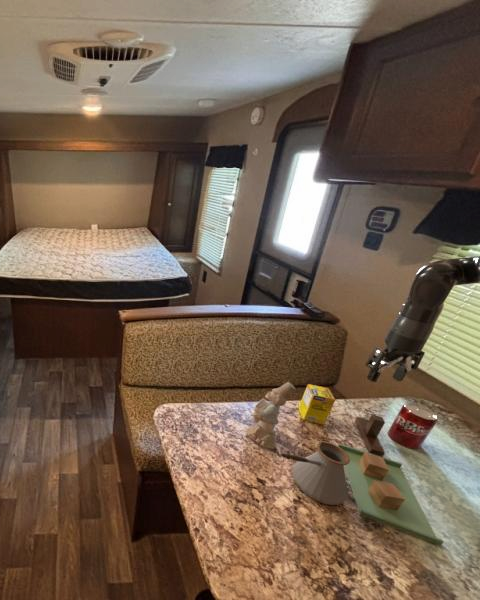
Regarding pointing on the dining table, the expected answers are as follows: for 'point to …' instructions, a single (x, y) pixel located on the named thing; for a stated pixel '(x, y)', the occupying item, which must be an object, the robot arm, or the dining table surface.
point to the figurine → (268, 416)
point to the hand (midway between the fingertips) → (384, 380)
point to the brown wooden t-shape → (371, 433)
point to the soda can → (412, 426)
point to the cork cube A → (373, 466)
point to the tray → (402, 519)
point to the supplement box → (316, 404)
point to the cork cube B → (386, 495)
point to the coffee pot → (322, 473)
